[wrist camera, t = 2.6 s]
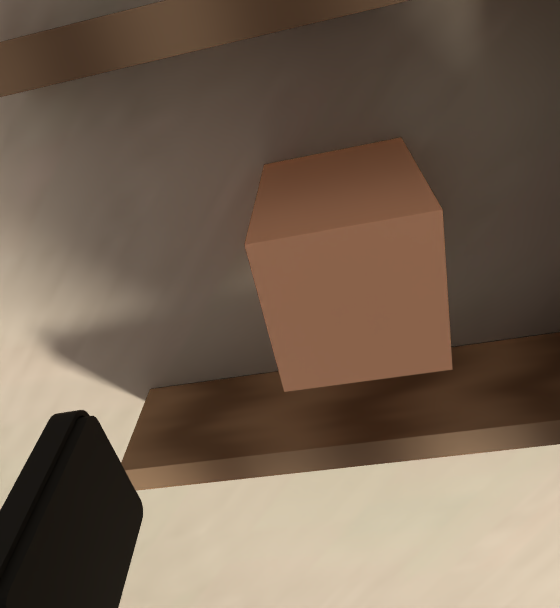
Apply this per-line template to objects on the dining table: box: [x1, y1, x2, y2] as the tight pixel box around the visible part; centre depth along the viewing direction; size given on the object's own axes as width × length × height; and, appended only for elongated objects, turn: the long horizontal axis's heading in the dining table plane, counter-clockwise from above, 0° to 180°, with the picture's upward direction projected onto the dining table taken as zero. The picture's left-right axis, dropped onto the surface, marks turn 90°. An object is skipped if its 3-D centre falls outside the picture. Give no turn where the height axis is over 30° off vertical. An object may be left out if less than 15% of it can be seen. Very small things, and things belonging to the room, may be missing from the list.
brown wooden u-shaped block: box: [0, 0, 560, 490], centre depth 18 cm, size 21×16×5 cm
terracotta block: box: [244, 137, 453, 392], centre depth 18 cm, size 5×5×7 cm
